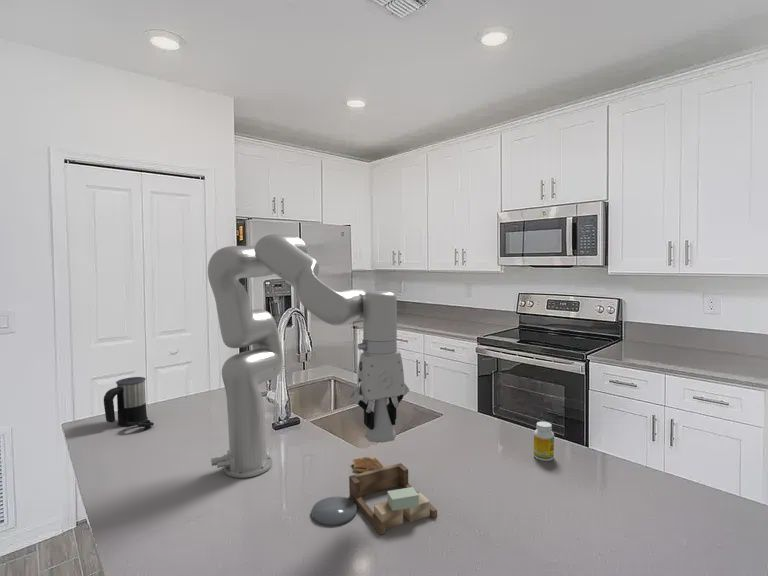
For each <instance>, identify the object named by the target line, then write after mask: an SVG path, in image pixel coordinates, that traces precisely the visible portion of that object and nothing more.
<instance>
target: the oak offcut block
mask: <svg viewBox="0 0 768 576" xmlns="http://www.w3.org/2000/svg"><path fill="white" fill-rule="evenodd" d="M373 512H374V514H375V515H376V516H377V517H378V519H379V520H380V521H381V522H382V523H383V525H384V526H385V530H386V529H387V530H388V529H390V528H393V527H396V526H399V525H402V524H404V515H403V509H400V510H394V511H392V509H391V508H390V506H389V504H388V502H387V501H383V502H381V503H380V502H379V503H377V504H374V505H373Z"/></svg>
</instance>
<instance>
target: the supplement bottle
mask: <svg viewBox="0 0 768 576" xmlns="http://www.w3.org/2000/svg"><path fill="white" fill-rule="evenodd" d="M552 430H553V425H552V423H550V422H548V421H537V422H536V429H535V430H534V432H533V457H535V459H537V460H539V461H543V462H548V461H553V459H554V455H555V434H554V432H553V431H552Z"/></svg>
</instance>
